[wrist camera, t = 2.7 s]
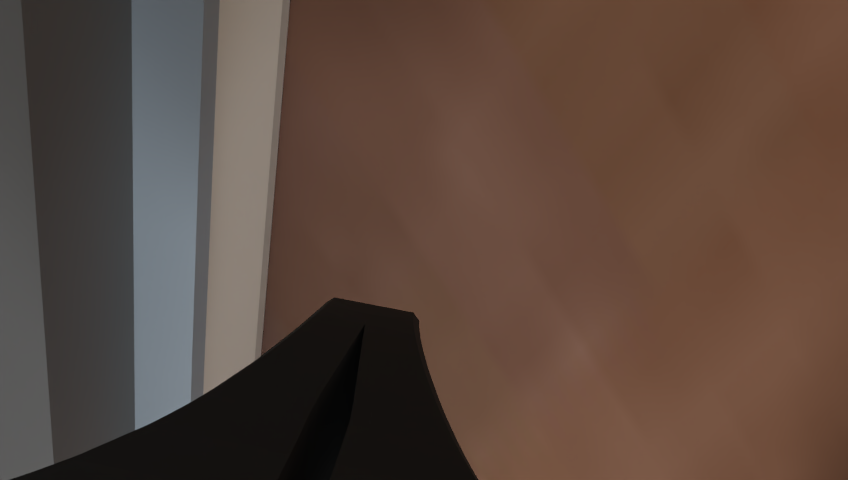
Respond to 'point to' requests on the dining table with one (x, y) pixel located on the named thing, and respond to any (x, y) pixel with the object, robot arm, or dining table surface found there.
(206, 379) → the white square shallow box
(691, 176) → the dining table surface
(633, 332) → the dining table surface
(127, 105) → the lid
